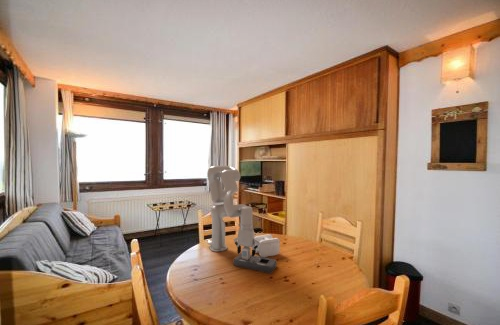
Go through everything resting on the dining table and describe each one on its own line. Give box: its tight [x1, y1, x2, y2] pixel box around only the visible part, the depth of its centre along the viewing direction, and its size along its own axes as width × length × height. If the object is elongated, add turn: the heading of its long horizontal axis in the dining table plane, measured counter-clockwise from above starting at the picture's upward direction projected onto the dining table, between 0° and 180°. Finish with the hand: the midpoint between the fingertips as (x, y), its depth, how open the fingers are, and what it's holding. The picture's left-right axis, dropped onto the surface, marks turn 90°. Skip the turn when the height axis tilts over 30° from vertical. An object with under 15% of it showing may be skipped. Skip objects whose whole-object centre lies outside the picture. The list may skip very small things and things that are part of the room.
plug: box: [241, 246, 252, 260], centre depth 143 cm, size 4×5×11 cm
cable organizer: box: [254, 233, 281, 258], centre depth 159 cm, size 15×11×12 cm
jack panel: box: [233, 252, 277, 274], centre depth 140 cm, size 24×10×4 cm, turn 65°
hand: (246, 254), depth 143 cm, fingers open, 9 cm apart
